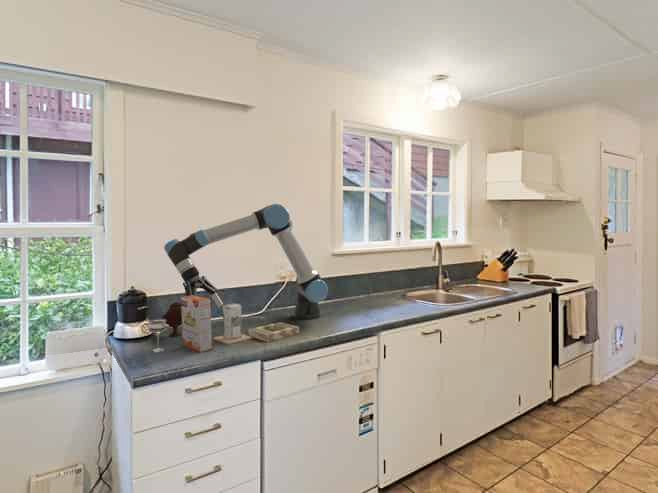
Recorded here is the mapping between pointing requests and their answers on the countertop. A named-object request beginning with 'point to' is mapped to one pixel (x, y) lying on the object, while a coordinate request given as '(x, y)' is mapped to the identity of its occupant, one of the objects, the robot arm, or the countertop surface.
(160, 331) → the wineglass
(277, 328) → the well board
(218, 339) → the terracotta tile
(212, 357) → the countertop surface
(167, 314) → the ice cream bowl
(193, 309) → the cracker box
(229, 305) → the syrup box
